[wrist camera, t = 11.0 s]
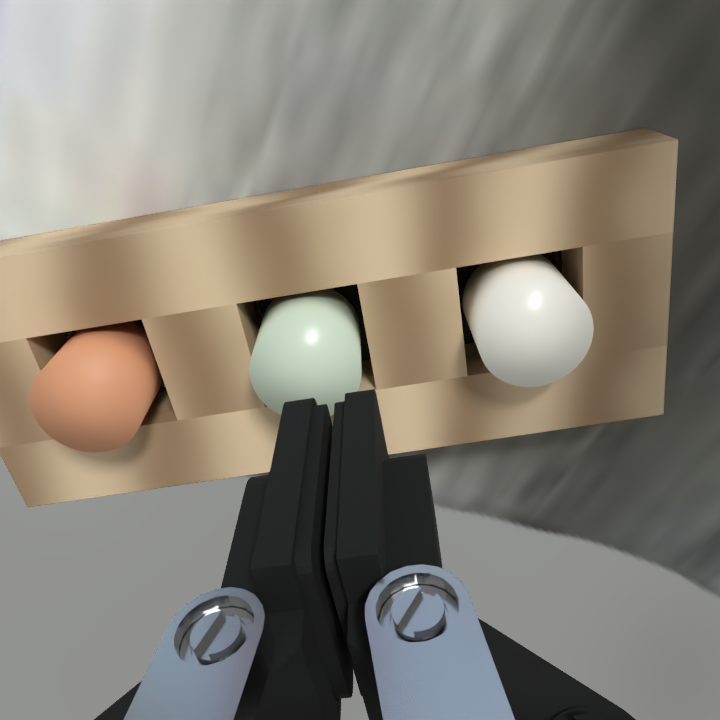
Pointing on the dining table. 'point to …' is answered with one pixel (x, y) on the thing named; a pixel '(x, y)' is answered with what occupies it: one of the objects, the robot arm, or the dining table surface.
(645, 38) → the dining table surface
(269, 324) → the pale green rounded knob
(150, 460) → the oak panel
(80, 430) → the brown egg
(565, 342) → the white rounded dome
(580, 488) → the dining table surface
